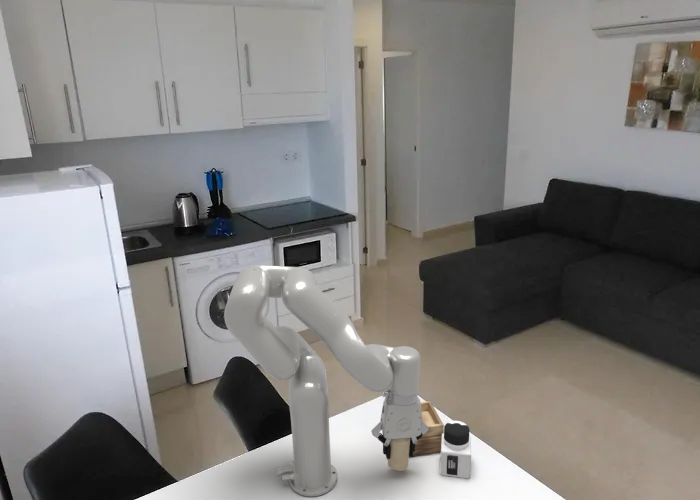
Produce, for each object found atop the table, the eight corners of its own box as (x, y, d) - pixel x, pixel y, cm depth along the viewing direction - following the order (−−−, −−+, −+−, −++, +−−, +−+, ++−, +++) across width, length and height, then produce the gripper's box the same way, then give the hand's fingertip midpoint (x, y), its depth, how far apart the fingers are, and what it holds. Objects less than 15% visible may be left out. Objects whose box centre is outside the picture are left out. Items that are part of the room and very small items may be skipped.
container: (470, 479, 136) (472, 437, 132) (440, 475, 138) (441, 433, 134) (469, 459, 143) (471, 418, 140) (441, 456, 145) (442, 415, 141)
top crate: (401, 441, 144) (401, 430, 143) (391, 415, 155) (390, 405, 154) (443, 435, 146) (443, 425, 145) (429, 410, 157) (430, 400, 156)
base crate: (400, 458, 144) (400, 443, 143) (389, 429, 157) (389, 415, 155) (445, 452, 146) (446, 437, 145) (430, 423, 159) (430, 409, 157)
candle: (385, 457, 141) (387, 425, 138) (405, 456, 141) (408, 424, 138) (389, 471, 136) (391, 438, 133) (410, 470, 136) (412, 437, 133)
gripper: (372, 405, 127) (369, 467, 133) (439, 400, 130) (434, 461, 136) (366, 388, 134) (363, 448, 140) (430, 384, 137) (425, 442, 143)
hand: (398, 454), depth 138 cm, fingers closed on candle, 5 cm apart
